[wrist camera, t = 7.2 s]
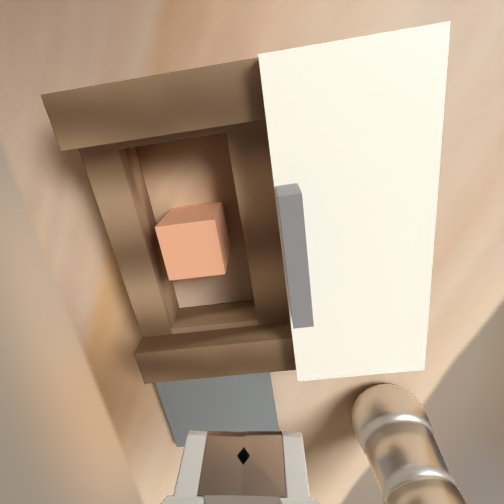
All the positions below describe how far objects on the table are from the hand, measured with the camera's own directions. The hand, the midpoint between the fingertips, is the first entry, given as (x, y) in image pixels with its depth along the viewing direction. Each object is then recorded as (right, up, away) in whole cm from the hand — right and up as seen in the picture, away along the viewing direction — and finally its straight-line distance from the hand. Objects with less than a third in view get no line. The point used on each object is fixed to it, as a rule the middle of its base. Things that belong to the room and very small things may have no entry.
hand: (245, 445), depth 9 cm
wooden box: (-2, +7, +17) cm, 19 cm away
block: (-4, +7, +18) cm, 19 cm away
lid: (+6, +6, +12) cm, 15 cm away
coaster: (-3, -10, +25) cm, 27 cm away
